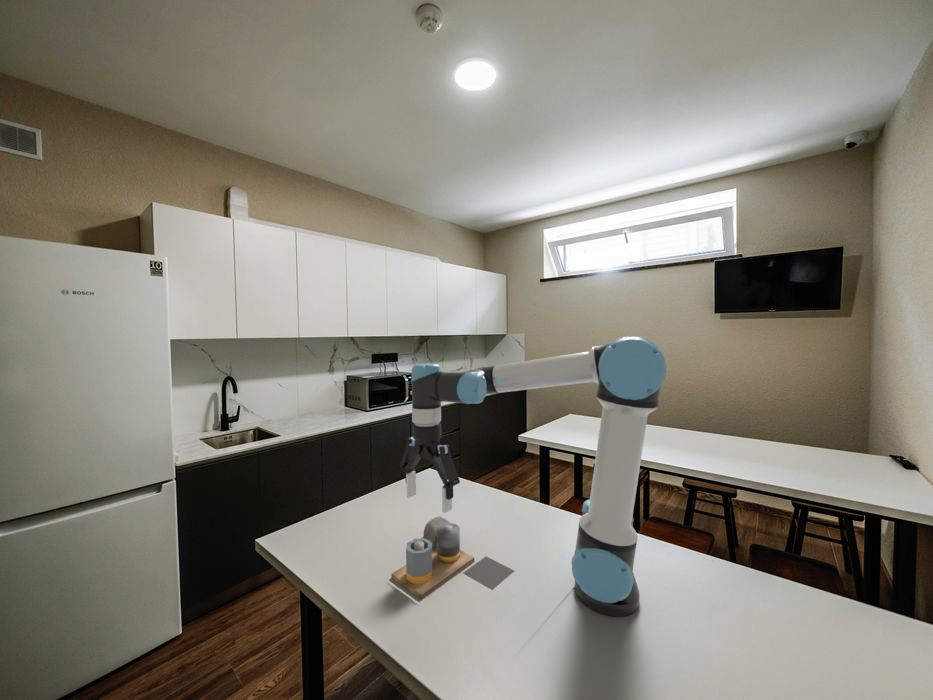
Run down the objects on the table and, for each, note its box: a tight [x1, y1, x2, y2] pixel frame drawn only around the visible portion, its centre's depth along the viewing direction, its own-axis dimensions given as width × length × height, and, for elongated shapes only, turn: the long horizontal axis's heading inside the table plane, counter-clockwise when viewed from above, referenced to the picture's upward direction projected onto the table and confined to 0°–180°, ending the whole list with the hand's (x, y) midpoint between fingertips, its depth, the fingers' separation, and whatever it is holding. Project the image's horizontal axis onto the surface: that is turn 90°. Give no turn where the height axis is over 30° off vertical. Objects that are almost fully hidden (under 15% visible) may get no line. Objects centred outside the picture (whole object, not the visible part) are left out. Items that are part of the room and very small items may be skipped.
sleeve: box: [405, 537, 432, 584], centre depth 97 cm, size 7×7×8 cm
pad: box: [463, 556, 515, 591], centre depth 100 cm, size 10×10×1 cm
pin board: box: [391, 522, 475, 600], centre depth 101 cm, size 12×20×10 cm, turn 139°
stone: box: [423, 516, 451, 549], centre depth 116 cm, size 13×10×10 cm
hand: (428, 503), depth 97 cm, fingers open, 13 cm apart
